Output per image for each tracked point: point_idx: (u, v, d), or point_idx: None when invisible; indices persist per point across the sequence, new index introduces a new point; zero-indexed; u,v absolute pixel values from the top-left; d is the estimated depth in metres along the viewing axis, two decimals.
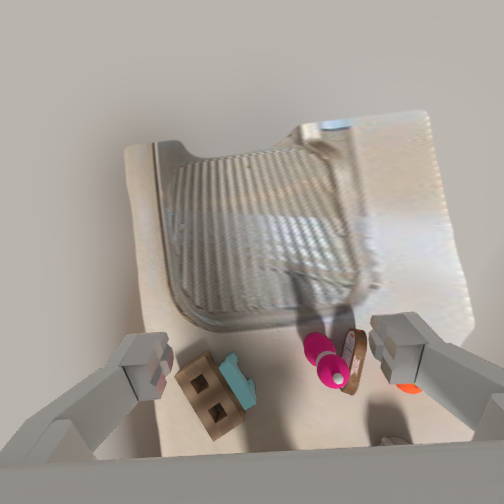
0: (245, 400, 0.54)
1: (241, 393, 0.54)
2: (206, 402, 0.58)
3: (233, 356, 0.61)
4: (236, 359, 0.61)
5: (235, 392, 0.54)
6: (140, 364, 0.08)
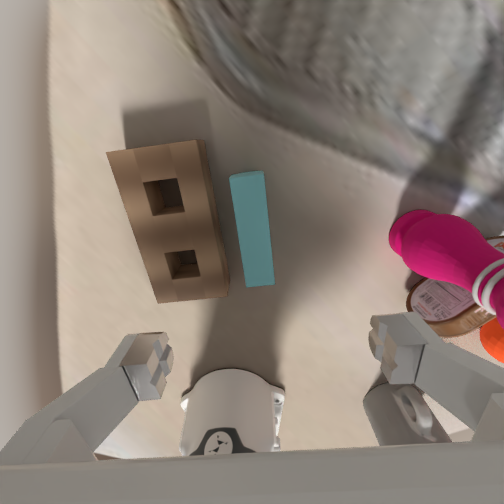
0: (256, 270, 0.24)
1: (255, 254, 0.23)
2: (166, 238, 0.27)
3: None
4: None
5: (243, 247, 0.23)
6: (140, 364, 0.08)
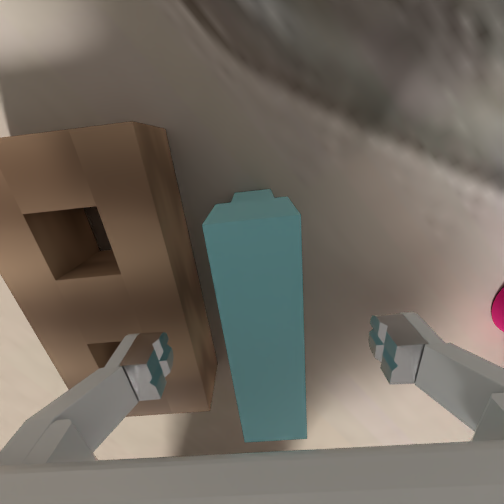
0: (269, 415, 0.11)
1: (267, 389, 0.10)
2: (89, 320, 0.14)
3: None
4: None
5: (240, 375, 0.10)
6: (140, 364, 0.08)
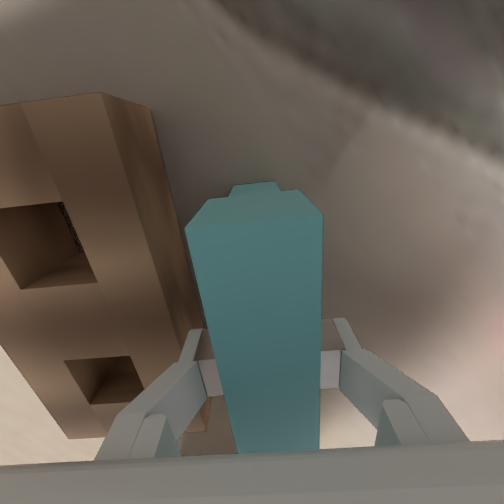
0: None
1: (272, 428, 0.08)
2: (64, 334, 0.12)
3: None
4: None
5: (239, 413, 0.08)
6: (214, 359, 0.08)
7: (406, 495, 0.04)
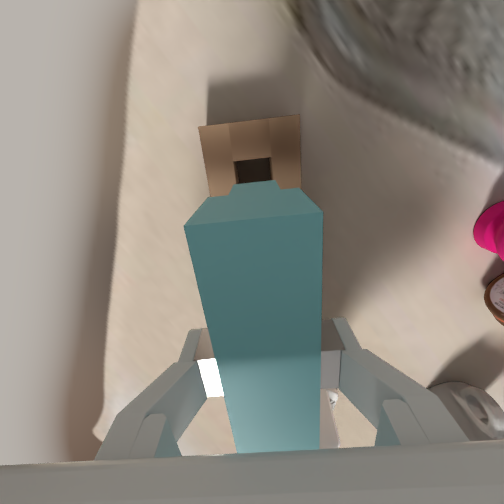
0: None
1: (272, 427, 0.08)
2: None
3: None
4: None
5: (238, 412, 0.08)
6: (214, 359, 0.08)
7: (406, 495, 0.04)
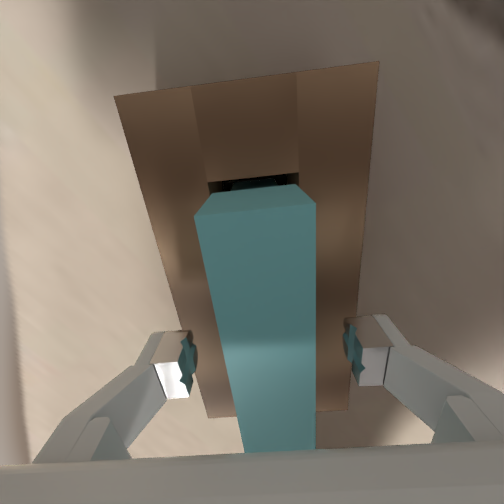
0: (273, 432, 0.10)
1: (272, 404, 0.09)
2: None
3: None
4: None
5: (241, 390, 0.09)
6: (170, 362, 0.08)
7: (406, 495, 0.04)
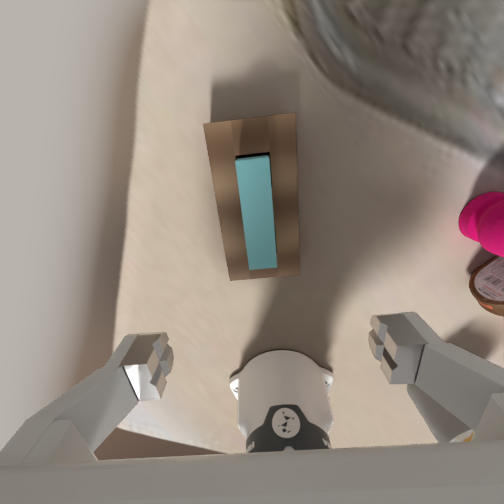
0: (259, 253, 0.25)
1: (259, 237, 0.24)
2: None
3: None
4: None
5: (247, 230, 0.24)
6: (140, 364, 0.08)
7: (406, 495, 0.04)
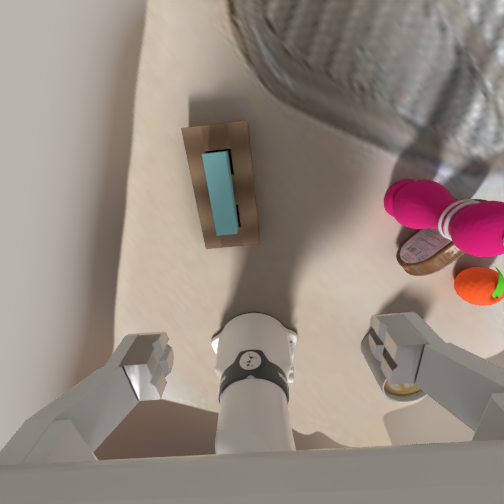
0: (223, 222, 0.34)
1: (222, 210, 0.33)
2: None
3: None
4: None
5: (213, 204, 0.33)
6: (140, 364, 0.08)
7: (406, 495, 0.04)
